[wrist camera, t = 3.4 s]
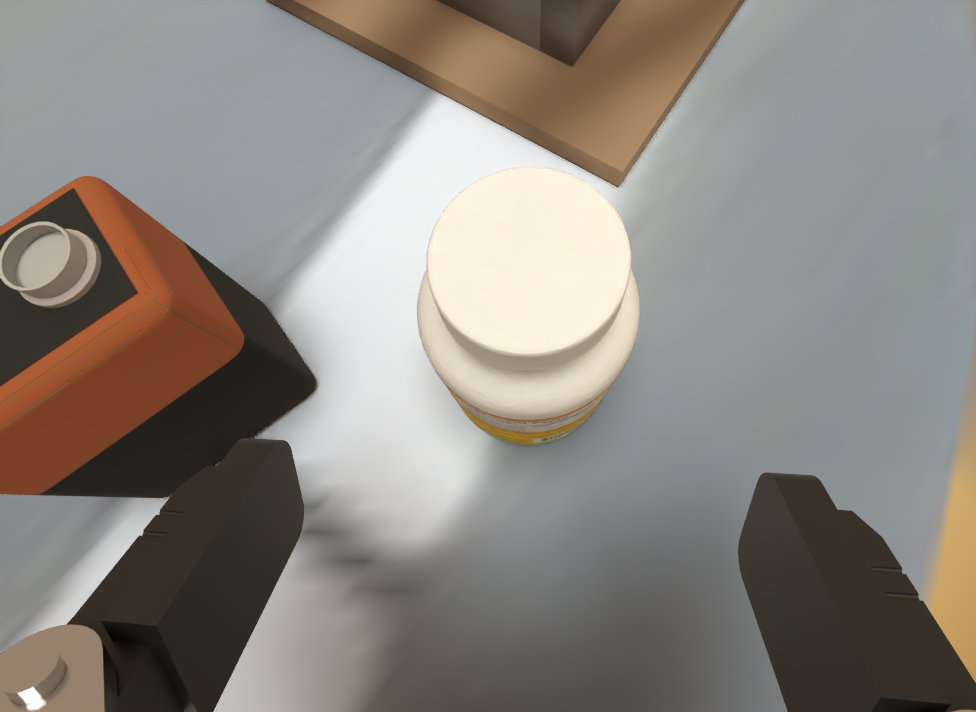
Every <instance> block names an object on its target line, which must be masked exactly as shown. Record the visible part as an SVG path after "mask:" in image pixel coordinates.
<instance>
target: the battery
mask: <svg viewBox="0 0 976 712" xmlns="http://www.w3.org/2000/svg"><path fill="white" fill-rule="evenodd" d="M314 387H315V378H314V376H313V375H312V373H311V372H310V370H309V369H308V367H307V366H306V364H305V363H304V361H303V360H302V358H301V357H300V355H299V354H298V352H297V351H296V350H295V348H294V347H293V345H292V344H291V342H290V341H289V339H288V338H287V336H286V335H285V333H284V332H283V330H282V329H281V328H280V326H279V325H278V323H277V322H276V320H275V319H274V317H273V316H272V314H271V313H270V311H269V310H268V309H267V307H266V306H265V305H264V304H263V303H262V302H261V301H260V300H259V299H257V298H256V297H255V296H254V295H252V294H251V293H250V292H248V291H247V290H246V289H244V288H243V287H242V286H241V285H239V284H238V283H237V282H235V281H234V280H233V279H231V278H230V277H229V276H228V275H226V274H225V273H224V272H222V271H221V270H220V269H218V268H217V267H216V266H215V265H213V264H212V263H211V262H209V261H208V260H207V259H205V258H204V257H203V256H201V255H200V254H199V253H198V252H196V251H195V250H194V249H192V248H191V247H190V246H188V245H187V244H186V243H185V242H183V241H182V240H181V239H179V238H178V237H177V236H175V235H174V234H173V233H172V232H170V231H169V230H168V229H166V228H165V227H164V226H162V225H161V224H160V223H159V222H157V221H156V220H155V219H153V218H152V217H151V216H149V215H148V214H147V213H146V212H144V211H143V210H142V209H140V208H139V207H138V206H136V205H135V204H134V203H133V202H131V201H130V200H129V199H127V198H126V197H125V196H123V195H122V194H121V193H120V192H118V191H117V190H116V189H114V188H113V187H112V186H110V185H109V184H108V183H106V182H105V181H103V180H101V179H99V178H96V177H92V176H83V177H80V178H77V179H75V180H73V181H71V182H70V183H68V184H66V185H65V186H63V187H62V188H60V189H58V190H57V191H55V192H54V193H52V194H51V195H49V196H47V197H46V198H44V199H43V200H41V201H40V202H38V203H37V204H35V205H34V206H32V207H30V208H29V209H27V210H26V211H24V212H23V213H21V214H20V215H18V216H17V217H15V218H14V219H12V220H10V221H9V222H7V223H6V224H4V225H3V226H1V227H0V494H15V495H56V496H97V497H138V498H164V497H167V496H169V495H171V494H173V493H174V492H175V491H176V490H177V488H178V487H179V486H180V485H181V484H183V483H184V482H185V481H187V480H188V479H190V478H191V477H192V476H194V475H195V474H197V473H198V472H200V471H201V470H202V469H204V468H205V467H207V466H208V465H209V466H212V465H213V464H214V463H216V462H217V461H218V460H220V459H221V458H223V457H224V456H225V455H227V454H228V452H229V451H230V450H231V448H232V447H233V446H234V444H235V443H236V442H237V441H238V440H240V439H242V438H250V437H251V436H253V435H254V434H256V433H257V432H258V431H260V430H261V429H262V428H264V427H265V426H267V425H268V424H269V423H271V422H272V421H273V420H275V419H276V418H278V417H279V416H280V415H282V414H283V413H284V412H286V411H287V410H289V409H290V408H291V407H293V406H294V405H295V404H297V403H298V402H300V401H301V400H302V399H304V398H305V397H306V396H307V395H309V394H310V393H311V392H312V390H313V389H314Z"/></svg>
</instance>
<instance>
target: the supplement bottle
mask: <svg viewBox="0 0 976 712" xmlns="http://www.w3.org/2000/svg"><path fill="white" fill-rule="evenodd" d="M639 309H640V306H639V296H638V290H637V285H636V281H635V278H634V275H633V273H632V270H631V249H630V244H629V239H628V236H627V233H626V230H625V227H624V225H623V223H622V220H621V218H620V217H619V215H618V213H617V212H616V210H615V209H614V208H613V206H612V205H611V204H610V203H609V201H608V200H607V199H606V198H605V197H604V196H603V195H602V194H601V193H599V192H598V191H597V190H596V189H595V188H593V187H592V186H591V185H589V184H587V183H586V182H584V181H582V180H581V179H579V178H577V177H574V176H572V175H569V174H567V173H564V172H562V171H557V170H554V169H547V168H540V167H521V168H513V169H508V170H504V171H500V172H496V173H494V174H491V175H488V176H486V177H484V178H482V179H480V180H478V181H476V182H475V183H473V184H471V185H470V186H468V187H467V188H466V189H464V190H463V191H462V192H460V193H459V194H458V195H457V196H456V197H455V198H454V199H453V200H452V201H451V203H450V204H449V205H448V206H447V207H446V208H445V210H444V211H443V213H442V214H441V216H440V218H439V219H438V221H437V223H436V225H435V227H434V229H433V232H432V235H431V238H430V241H429V245H428V251H427V270H426V272H425V274H424V276H423V280H422V283H421V287H420V290H419V296H418V303H417V319H418V328H419V333H420V337H421V341H422V344H423V347H424V350H425V352H426V354H427V356H428V358H429V360H430V362H431V364H432V366H433V368H434V369H435V371H436V373H437V374H438V375H439V377H440V378H441V380H442V381H443V382H444V384H445V385H446V386H447V388H448V389H449V391H450V392H451V394H452V395H453V397H454V398H455V400H456V401H457V403H458V404H459V406H460V407H461V408H462V410H463V411H464V412H465V414H466V415H467V416H468V417H469V418H470V419H471V421H473V422H474V423H475V424H476V425H477V426H478V427H479V428H481V429H482V430H483V431H485V432H486V433H488V434H490V435H491V436H493V437H495V438H497V439H500V440H502V441H505V442H508V443H512V444H518V445H538V444H545V443H549V442H552V441H556V440H558V439H561V438H563V437H565V436H567V435H568V434H570V433H572V432H573V431H575V430H576V429H577V428H579V427H580V426H581V425H582V424H583V423H584V422H585V421H586V420H587V419H588V418H589V417H590V416H591V415H592V413H593V412H594V411H595V409H596V408H597V406H598V405H599V403H600V402H601V400H602V399H603V397H604V396H605V394H606V393H607V391H608V390H609V388H610V387H611V385H612V384H613V382H614V381H615V380H616V378H617V377H618V375H619V374H620V372H621V371H622V369H623V367H624V366H625V363H626V361H627V359H628V357H629V355H630V352H631V350H632V348H633V345H634V342H635V338H636V335H637V330H638V324H639Z"/></svg>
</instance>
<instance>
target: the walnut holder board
mask: <svg viewBox="0 0 976 712" xmlns="http://www.w3.org/2000/svg"><path fill="white" fill-rule="evenodd" d="M266 1H268V2H270V3H272V4H274V5H276V6H278V7H280V8H282V9H283V10H285V11H287V12H289V13H291V14H293V15H295V16H297V17H299V18H300V19H302V20H304V21H306V22H308V23H310V24H312V25H314V26H316V27H317V28H319V29H321V30H323V31H325V32H327V33H329V34H331V35H333V36H334V37H336V38H338V39H340V40H342V41H344V42H346V43H348V44H350V45H351V46H353V47H355V48H357V49H359V50H361V51H363V52H365V53H367V54H368V55H370V56H372V57H374V58H376V59H378V60H380V61H382V62H384V63H385V64H387V65H389V66H391V67H393V68H395V69H397V70H399V71H401V72H402V73H404V74H406V75H408V76H410V77H412V78H414V79H416V80H418V81H419V82H421V83H423V84H425V85H427V86H429V87H431V88H433V89H435V90H436V91H438V92H440V93H442V94H444V95H446V96H448V97H450V98H451V99H453V100H455V101H457V102H459V103H461V104H463V105H465V106H467V107H468V108H470V109H472V110H474V111H476V112H478V113H480V114H482V115H484V116H485V117H487V118H489V119H491V120H493V121H495V122H497V123H499V124H501V125H502V126H504V127H506V128H508V129H510V130H512V131H514V132H516V133H518V134H519V135H521V136H523V137H525V138H527V139H529V140H531V141H533V142H535V143H536V144H538V145H540V146H542V147H544V148H546V149H548V150H550V151H552V152H553V153H555V154H557V155H559V156H561V157H563V158H565V159H567V160H569V161H570V162H572V163H574V164H576V165H578V166H580V167H582V168H584V169H586V170H587V171H589V172H591V173H593V174H595V175H597V176H599V177H601V178H603V179H604V180H606V181H608V182H610V183H612V184H614V185H616V186H618V187H619V185H620V184H621V183H622V181H623V180H624V178H625V177H626V175H627V174H628V172H629V171H630V169H631V168H632V166H633V165H634V163H635V162H636V160H637V159H638V157H639V156H640V154H641V153H642V151H643V150H644V148H645V147H646V145H647V144H648V143H649V141H650V140H651V138H652V137H653V135H654V134H655V132H656V131H657V129H658V128H659V126H660V125H661V123H662V122H663V120H664V119H665V117H666V116H667V114H668V113H669V111H670V110H671V108H672V107H673V105H674V104H675V102H676V101H677V100H678V98H679V97H680V95H681V94H682V92H683V91H684V89H685V88H686V86H687V85H688V83H689V82H690V80H691V79H692V77H693V76H694V74H695V73H696V71H697V70H698V68H699V67H700V65H701V64H702V62H703V61H704V60H705V58H706V57H707V55H708V54H709V52H710V51H711V49H712V48H713V46H714V45H715V43H716V42H717V40H718V39H719V37H720V36H721V34H722V33H723V31H724V30H725V28H726V27H727V25H728V24H729V22H730V21H731V19H732V18H733V17H734V15H735V14H736V12H737V11H738V9H739V8H740V6H741V5H742V3H743V2H744V0H266Z"/></svg>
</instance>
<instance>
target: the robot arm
mask: <svg viewBox="0 0 976 712" xmlns="http://www.w3.org/2000/svg"><path fill="white" fill-rule="evenodd" d="M303 519H304V505H303V499H302V495H301V491H300V486H299V482H298V477H297V473H296V468H295V464H294V459H293V455H292V451H291V447H290V445H289V444H288V442H286V441H284V440H268V439H253V438H242V439H240V440H238V441H237V442H236V443H235V444H234V446H233V447H232V448H231V450H230V451H229V452H228V454H227V455H226V456H225V457H224V459H223V460H222V461H221V463H220V464H219V465H218V466H209V465H208V466H207V467H205V468H204V469H202V470H201V471H200V472H198V473H197V474H195V475H194V476H192V477H191V478H190V479H188V480H187V481H185V482H184V483H183V484H181V485H180V486H179V487H178V488H177V490H176V491H175V492H174V493H173V495H172V496H171V497H170V498H169V499H168V501H167V502H166V503H165V504H164V506H163V507H162V508H161V509H160V514H159V515H156V516H155V517H154V518H153V519H152V520H151V522H150V523H149V524H148V525H147V527H146V528H145V529H144V530H143V531H144V533H143V535H142V536H139V537H138V538H137V539H136V540H135V542H134V543H133V544H132V545H131V546H130V548H129V549H128V550H127V551H126V553H125V554H124V555H123V556H122V558H121V559H120V560H119V561H118V563H117V564H116V565H115V566H114V567H113V569H112V570H111V571H110V572H109V574H108V575H107V576H106V577H105V579H104V580H103V581H102V582H101V584H100V585H99V586H98V587H97V588H96V590H95V591H94V592H93V593H92V595H91V596H90V597H89V598H88V600H87V601H86V602H85V603H84V605H83V606H82V607H81V608H80V610H79V611H78V612H77V613H76V614H75V616H74V617H73V618H72V619H71V620H70V621H69V622H68V623H67V625H61V626H56V627H52V628H49V629H46V630H43V631H40V632H37V633H35V634H33V635H31V636H29V637H27V638H25V639H23V640H21V641H20V642H18V643H16V644H15V645H13V646H12V647H10V648H9V649H7V650H6V651H5V652H3V653H2V654H1V655H0V712H213V711H214V709H215V707H216V705H217V703H218V701H219V699H220V697H221V695H222V693H223V691H224V689H225V687H226V685H227V683H228V681H229V679H230V677H231V674H232V672H233V670H234V668H235V666H236V664H237V662H238V660H239V658H240V656H241V654H242V652H243V650H244V648H245V646H246V644H247V642H248V640H249V638H250V636H251V634H252V632H253V630H254V628H255V626H256V624H257V622H258V620H259V618H260V616H261V614H262V612H263V610H264V608H265V606H266V604H267V602H268V600H269V598H270V596H271V594H272V592H273V590H274V588H275V585H276V583H277V581H278V579H279V577H280V575H281V573H282V571H283V569H284V567H285V565H286V563H287V561H288V559H289V557H290V555H291V553H292V551H293V549H294V547H295V545H296V543H297V541H298V539H299V536H300V533H301V530H302V525H303ZM738 555H739V566H740V571H741V575H742V579H743V582H744V585H745V588H746V590H747V593H748V596H749V599H750V602H751V605H752V608H753V611H754V614H755V617H756V620H757V623H758V626H759V629H760V631H761V634H762V637H763V640H764V643H765V646H766V649H767V652H768V655H769V658H770V661H771V664H772V667H773V670H774V672H775V675H776V678H777V681H778V684H779V687H780V690H781V693H782V696H783V699H784V702H785V705H786V708H787V711H788V712H976V683H975V681H974V680H973V678H972V677H971V675H970V674H969V672H968V670H967V669H966V667H965V666H964V664H963V663H962V661H961V660H960V658H959V656H958V655H957V653H956V652H955V650H954V649H953V647H952V645H951V644H950V642H949V641H948V639H947V638H946V636H945V635H944V633H943V631H942V630H941V628H940V627H939V625H938V624H937V622H936V621H935V619H934V617H933V616H932V614H931V613H930V611H929V610H928V608H927V606H926V605H925V603H924V602H923V601H920V600H919V598H918V595H919V594H918V592H917V591H916V589H915V588H914V586H913V585H912V583H911V581H910V580H909V578H908V577H907V575H906V574H902V567H901V566H900V564H899V563H898V561H897V560H896V558H895V557H894V555H893V553H892V552H891V550H890V549H889V547H888V546H887V544H886V542H885V541H884V539H883V538H882V537H881V536H880V535H879V534H878V533H877V532H875V531H874V530H873V529H872V528H871V527H870V526H869V525H867V524H866V523H865V522H864V521H863V520H862V519H861V518H859V517H858V516H857V515H856V514H855V513H854V512H853V511H846V510H837V508H836V507H835V505H834V503H833V501H832V500H831V498H830V496H829V495H828V493H827V491H826V489H825V488H824V486H823V484H822V483H821V481H820V480H819V479H818V478H817V477H815V476H812V475H797V474H781V473H763V474H762V475H761V476H760V478H759V479H758V482H757V485H756V488H755V491H754V494H753V497H752V501H751V504H750V507H749V510H748V513H747V517H746V520H745V523H744V526H743V529H742V532H741V536H740V540H739V550H738Z"/></svg>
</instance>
